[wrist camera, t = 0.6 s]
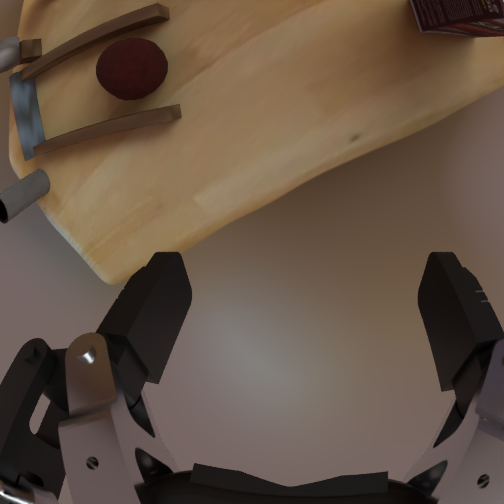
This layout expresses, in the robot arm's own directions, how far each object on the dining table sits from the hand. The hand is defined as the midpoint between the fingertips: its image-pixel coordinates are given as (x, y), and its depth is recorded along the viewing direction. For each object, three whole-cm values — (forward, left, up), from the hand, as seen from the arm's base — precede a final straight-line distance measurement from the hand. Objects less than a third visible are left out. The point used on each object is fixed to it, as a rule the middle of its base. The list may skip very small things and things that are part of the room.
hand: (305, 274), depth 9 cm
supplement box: (-16, +18, -25) cm, 34 cm away
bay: (-12, -26, -25) cm, 38 cm away
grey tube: (+2, -41, -25) cm, 48 cm away
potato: (-10, -17, -25) cm, 32 cm away
